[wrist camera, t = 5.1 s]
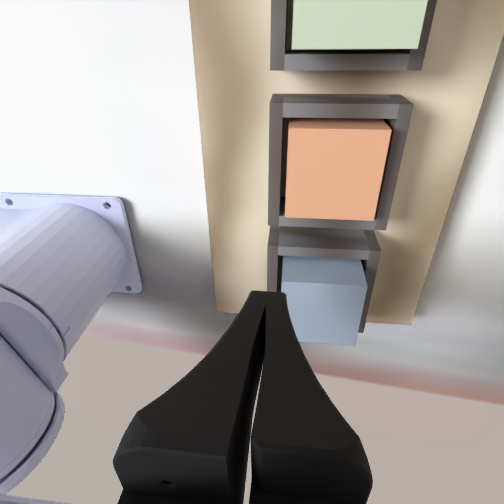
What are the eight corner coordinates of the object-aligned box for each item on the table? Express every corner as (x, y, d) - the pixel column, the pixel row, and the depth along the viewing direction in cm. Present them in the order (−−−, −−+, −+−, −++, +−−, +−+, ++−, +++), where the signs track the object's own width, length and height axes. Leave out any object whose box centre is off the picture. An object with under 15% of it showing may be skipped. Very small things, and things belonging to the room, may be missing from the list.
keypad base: (219, 299, 28) (209, 336, 24) (184, -147, 15) (152, -195, 11) (405, 310, 26) (421, 352, 23) (548, -169, 13) (632, -231, 10)
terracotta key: (286, 193, 21) (284, 217, 18) (289, 113, 18) (288, 128, 16) (364, 195, 20) (373, 220, 18) (378, 114, 18) (391, 129, 15)
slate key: (281, 306, 24) (279, 340, 21) (283, 250, 21) (281, 281, 19) (348, 310, 23) (355, 345, 21) (359, 254, 21) (367, 286, 18)
